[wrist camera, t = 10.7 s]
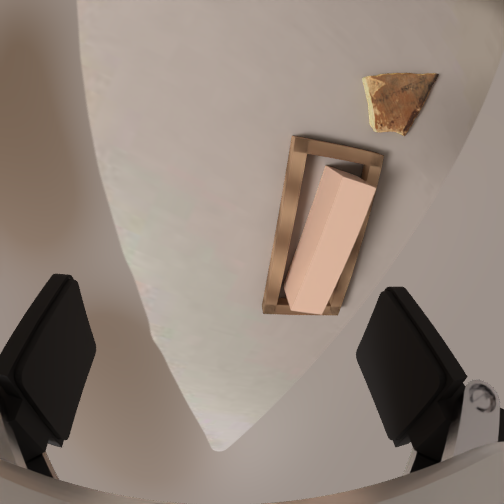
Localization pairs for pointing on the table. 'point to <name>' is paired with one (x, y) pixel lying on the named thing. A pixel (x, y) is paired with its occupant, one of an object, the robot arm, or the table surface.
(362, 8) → the table surface
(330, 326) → the table surface
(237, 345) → the table surface
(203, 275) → the table surface
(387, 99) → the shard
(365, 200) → the pink rectangular block
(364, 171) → the brown wooden frame
